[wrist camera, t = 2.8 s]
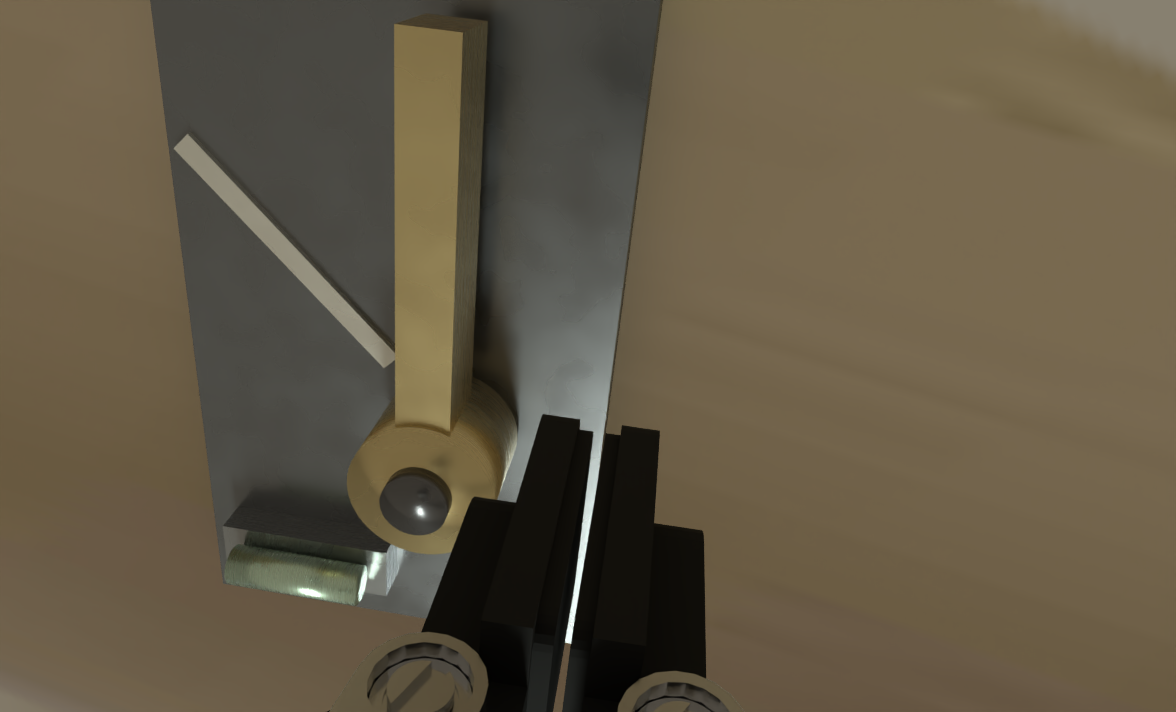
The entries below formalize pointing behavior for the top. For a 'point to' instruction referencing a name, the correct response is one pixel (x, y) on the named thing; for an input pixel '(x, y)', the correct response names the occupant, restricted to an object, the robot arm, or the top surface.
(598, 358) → the flat grey rectangular plate
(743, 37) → the top surface
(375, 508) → the lever with round hub
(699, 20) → the top surface
